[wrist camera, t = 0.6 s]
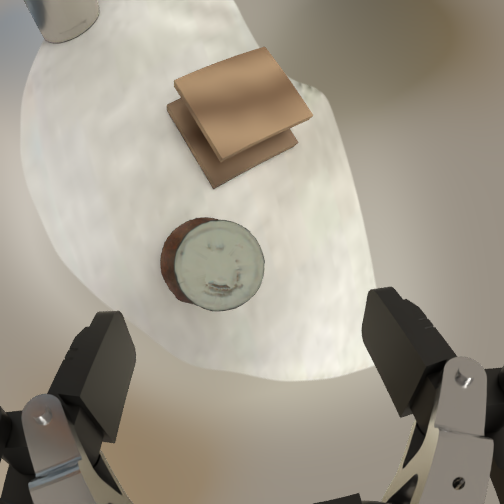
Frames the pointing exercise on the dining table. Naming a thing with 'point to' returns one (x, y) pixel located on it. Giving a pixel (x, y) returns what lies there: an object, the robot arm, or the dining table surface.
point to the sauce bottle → (212, 264)
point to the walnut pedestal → (237, 114)
